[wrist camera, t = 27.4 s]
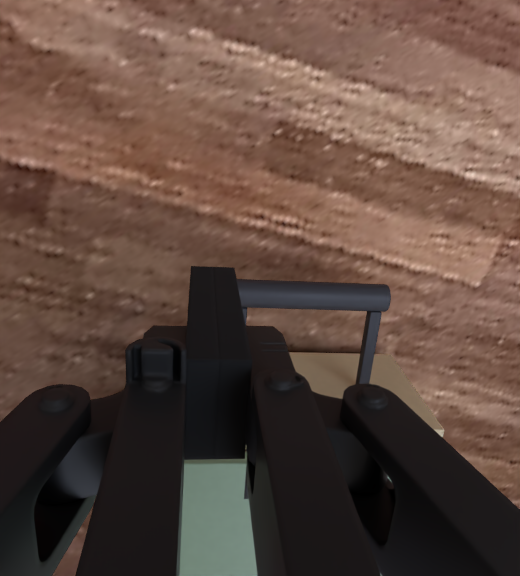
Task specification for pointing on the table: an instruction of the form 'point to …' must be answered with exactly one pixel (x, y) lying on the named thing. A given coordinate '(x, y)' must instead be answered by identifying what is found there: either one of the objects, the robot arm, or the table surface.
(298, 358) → the drawer
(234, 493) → the cabinet
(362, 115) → the table surface
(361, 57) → the table surface
